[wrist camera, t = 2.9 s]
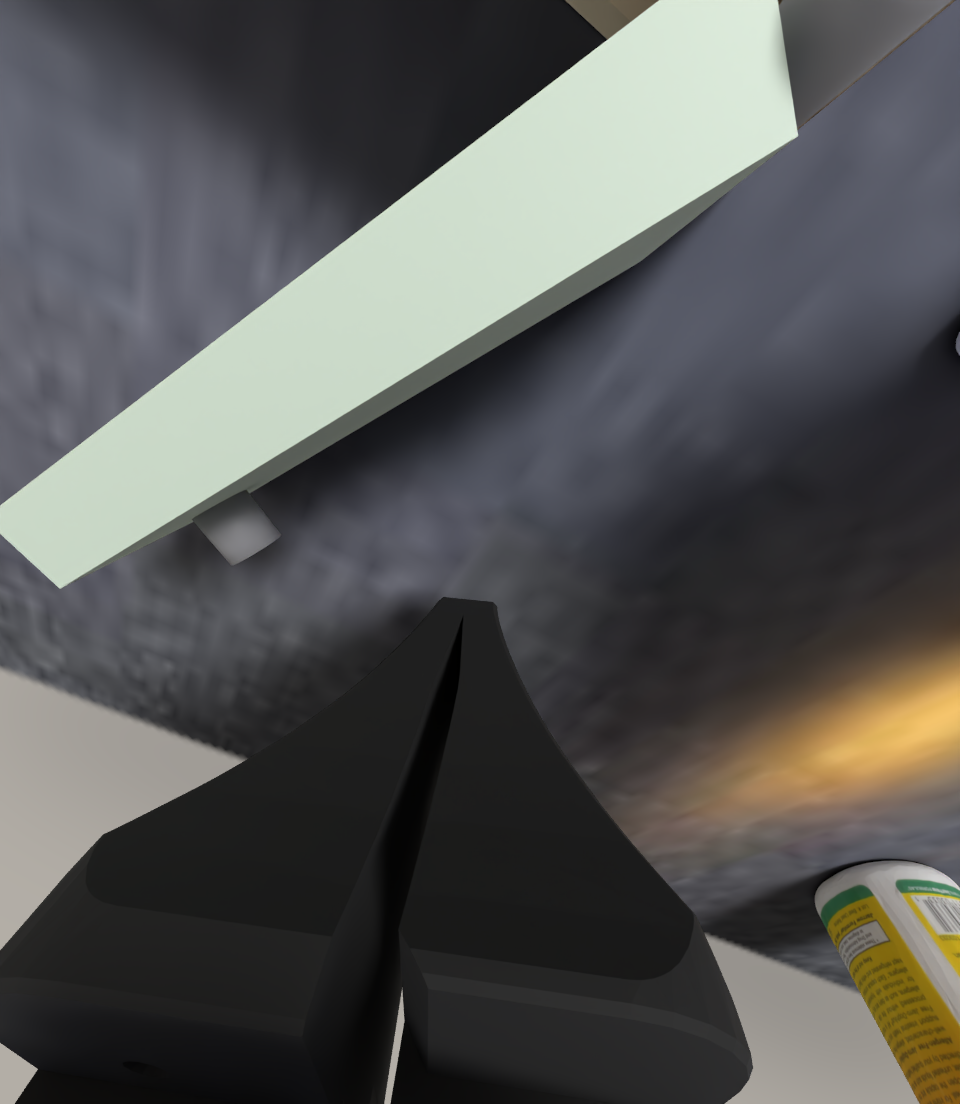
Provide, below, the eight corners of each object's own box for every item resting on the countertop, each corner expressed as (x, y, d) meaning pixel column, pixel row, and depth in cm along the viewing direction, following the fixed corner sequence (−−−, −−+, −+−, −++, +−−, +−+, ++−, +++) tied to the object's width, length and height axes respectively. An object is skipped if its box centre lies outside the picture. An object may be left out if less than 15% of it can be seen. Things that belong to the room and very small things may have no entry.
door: (682, 141, 7) (1044, -336, 2) (717, 288, 8) (1030, 177, 3) (215, 449, 11) (-51, 528, 6) (277, 528, 12) (95, 656, 7)
